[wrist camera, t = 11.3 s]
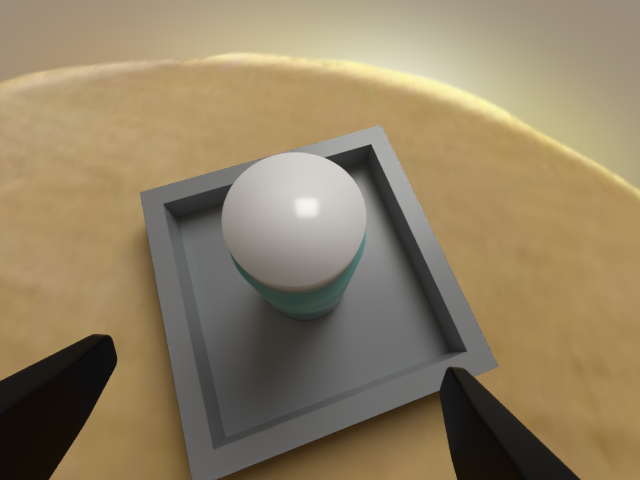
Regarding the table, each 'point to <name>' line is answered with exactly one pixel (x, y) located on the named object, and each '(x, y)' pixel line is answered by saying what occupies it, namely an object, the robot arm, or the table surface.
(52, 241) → the table surface
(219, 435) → the tray
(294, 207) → the ball
